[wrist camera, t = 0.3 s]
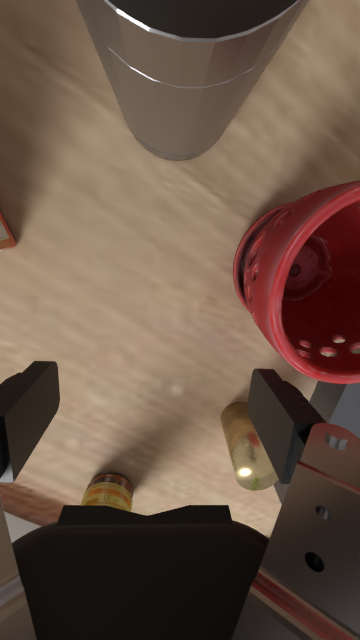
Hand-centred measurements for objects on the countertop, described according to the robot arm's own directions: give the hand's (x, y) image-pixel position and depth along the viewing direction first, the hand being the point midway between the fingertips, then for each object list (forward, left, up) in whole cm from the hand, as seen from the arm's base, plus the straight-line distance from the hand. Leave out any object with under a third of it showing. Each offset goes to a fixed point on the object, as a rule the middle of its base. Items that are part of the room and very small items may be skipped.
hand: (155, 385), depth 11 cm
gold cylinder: (+14, +12, -18) cm, 26 cm away
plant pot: (-5, +12, -18) cm, 22 cm away
